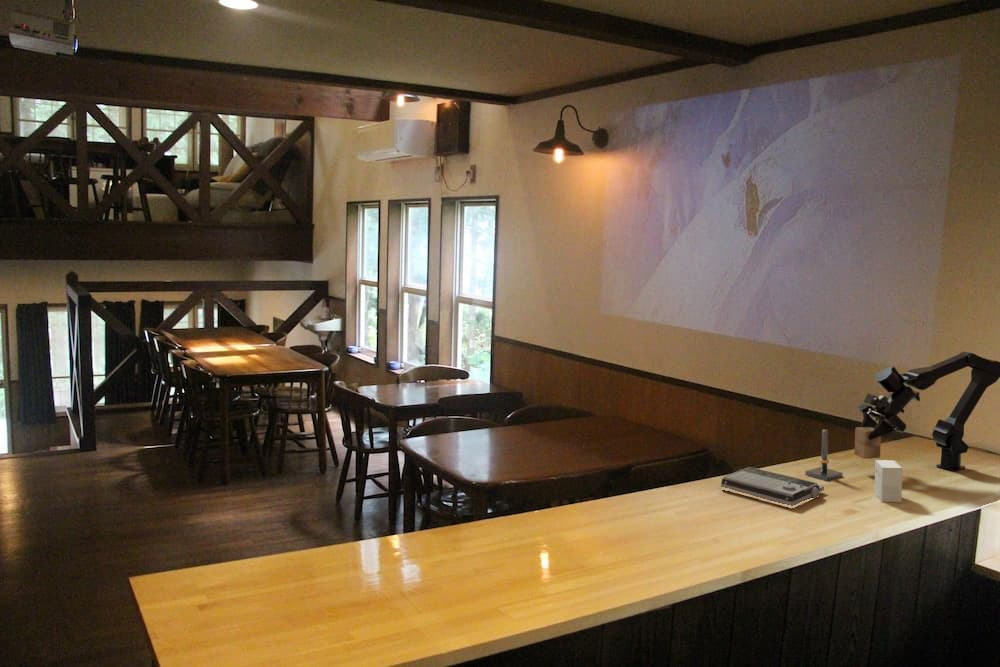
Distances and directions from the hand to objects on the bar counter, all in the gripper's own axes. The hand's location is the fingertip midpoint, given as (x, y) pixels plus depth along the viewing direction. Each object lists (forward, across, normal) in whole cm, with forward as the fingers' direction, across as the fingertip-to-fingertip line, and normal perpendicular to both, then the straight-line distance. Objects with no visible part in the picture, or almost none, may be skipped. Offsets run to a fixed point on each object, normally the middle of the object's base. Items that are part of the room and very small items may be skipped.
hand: (863, 436), depth 256 cm
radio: (+35, +12, -16) cm, 40 cm away
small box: (+13, +23, +5) cm, 27 cm away
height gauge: (+18, 0, -1) cm, 18 cm away
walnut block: (+4, 0, +6) cm, 7 cm away
